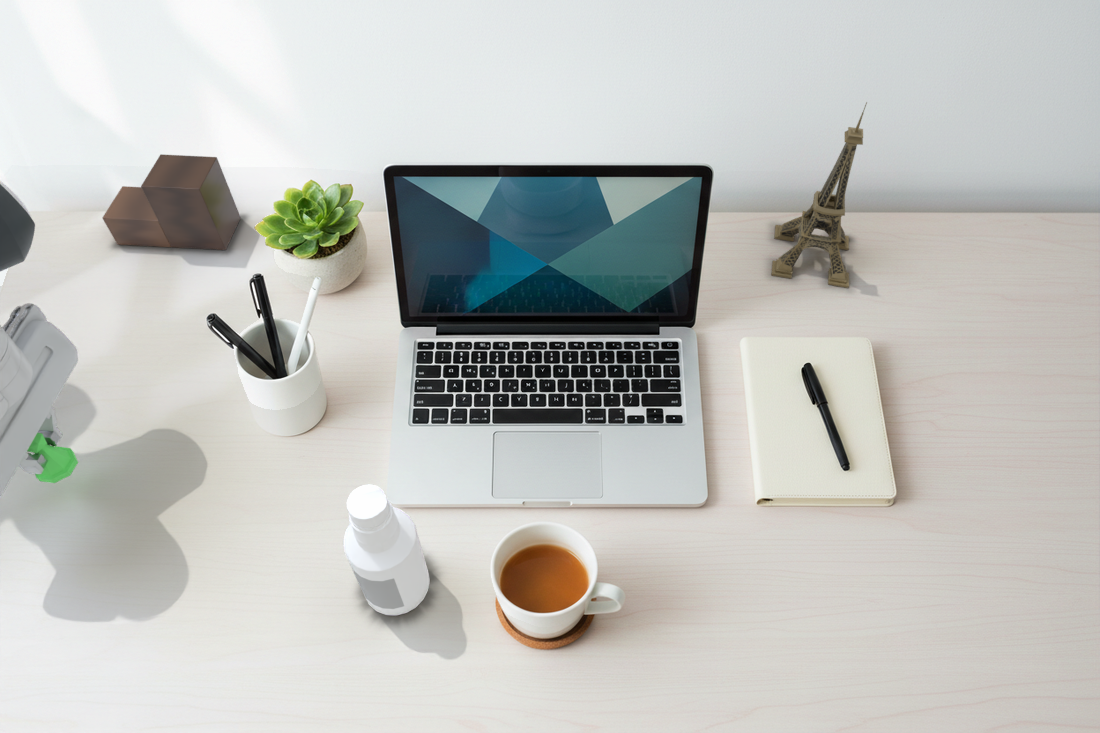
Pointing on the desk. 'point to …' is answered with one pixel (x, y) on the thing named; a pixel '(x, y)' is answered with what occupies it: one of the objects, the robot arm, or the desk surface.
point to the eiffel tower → (823, 219)
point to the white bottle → (384, 552)
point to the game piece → (53, 460)
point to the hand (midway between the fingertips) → (45, 454)
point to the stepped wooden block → (176, 206)
